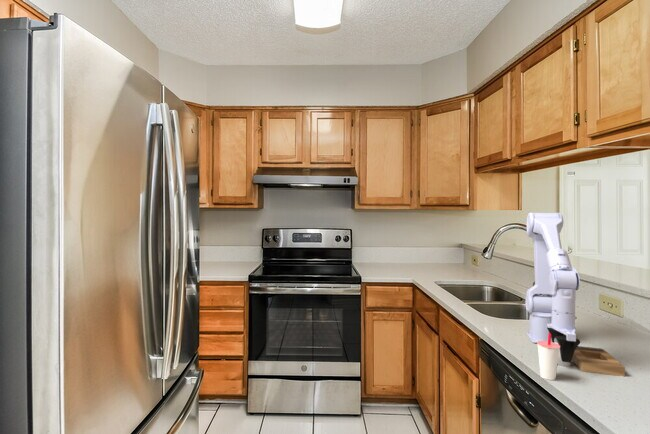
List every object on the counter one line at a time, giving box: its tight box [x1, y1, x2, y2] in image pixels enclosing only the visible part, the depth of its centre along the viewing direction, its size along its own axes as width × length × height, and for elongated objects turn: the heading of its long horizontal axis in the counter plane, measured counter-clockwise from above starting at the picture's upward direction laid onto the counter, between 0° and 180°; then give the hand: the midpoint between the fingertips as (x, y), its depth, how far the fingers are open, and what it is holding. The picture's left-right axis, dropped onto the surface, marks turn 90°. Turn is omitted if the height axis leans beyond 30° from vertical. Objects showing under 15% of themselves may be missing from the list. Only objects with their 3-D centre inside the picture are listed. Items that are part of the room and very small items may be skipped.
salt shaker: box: [554, 338, 572, 368], centre depth 104 cm, size 4×4×7 cm
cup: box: [536, 333, 560, 381], centre depth 95 cm, size 5×5×12 cm
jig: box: [571, 345, 626, 377], centre depth 104 cm, size 13×10×3 cm
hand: (562, 357), depth 104 cm, fingers open, 6 cm apart
